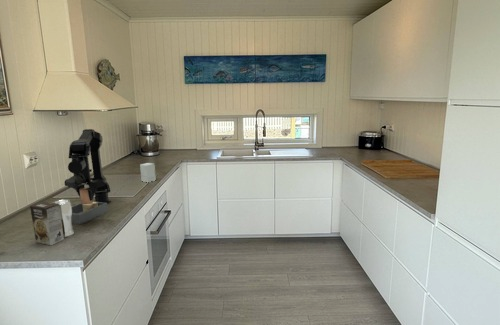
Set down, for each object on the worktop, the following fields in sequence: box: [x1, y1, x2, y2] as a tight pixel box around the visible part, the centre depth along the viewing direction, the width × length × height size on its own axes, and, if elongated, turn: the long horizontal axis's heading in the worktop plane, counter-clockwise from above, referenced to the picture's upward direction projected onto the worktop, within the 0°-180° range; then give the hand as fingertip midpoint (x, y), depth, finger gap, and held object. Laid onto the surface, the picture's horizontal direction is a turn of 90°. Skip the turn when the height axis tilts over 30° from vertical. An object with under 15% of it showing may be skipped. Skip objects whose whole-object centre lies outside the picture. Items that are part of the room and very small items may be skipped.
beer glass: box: [52, 199, 75, 238], centre depth 137 cm, size 7×7×15 cm
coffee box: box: [29, 201, 65, 246], centre depth 131 cm, size 9×6×16 cm
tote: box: [71, 200, 109, 226], centre depth 159 cm, size 18×14×5 cm
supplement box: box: [139, 162, 157, 184], centre depth 225 cm, size 7×7×13 cm
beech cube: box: [82, 201, 98, 212], centre depth 163 cm, size 5×5×5 cm
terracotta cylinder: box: [79, 186, 94, 204], centre depth 151 cm, size 5×5×7 cm
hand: (86, 200), depth 151 cm, fingers closed on terracotta cylinder, 5 cm apart
